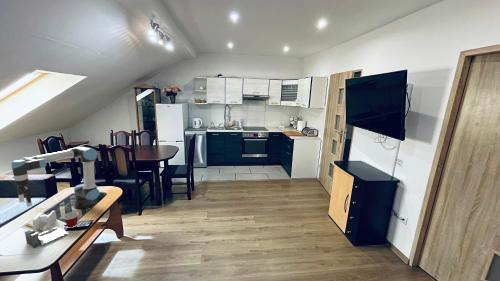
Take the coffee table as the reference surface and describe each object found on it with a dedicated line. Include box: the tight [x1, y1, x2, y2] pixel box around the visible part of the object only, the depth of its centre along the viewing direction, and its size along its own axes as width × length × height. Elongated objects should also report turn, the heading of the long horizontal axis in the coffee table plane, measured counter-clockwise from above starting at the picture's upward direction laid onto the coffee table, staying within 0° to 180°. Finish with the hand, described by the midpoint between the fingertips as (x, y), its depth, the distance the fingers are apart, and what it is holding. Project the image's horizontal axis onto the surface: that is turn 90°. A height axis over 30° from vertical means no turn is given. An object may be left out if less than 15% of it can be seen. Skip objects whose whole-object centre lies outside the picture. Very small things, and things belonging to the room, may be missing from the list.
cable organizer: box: [31, 210, 57, 232], centre depth 184 cm, size 15×11×12 cm
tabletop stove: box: [24, 226, 70, 249], centre depth 169 cm, size 22×17×12 cm
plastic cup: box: [62, 211, 80, 228], centre depth 184 cm, size 11×11×12 cm
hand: (25, 204), depth 170 cm, fingers open, 13 cm apart
